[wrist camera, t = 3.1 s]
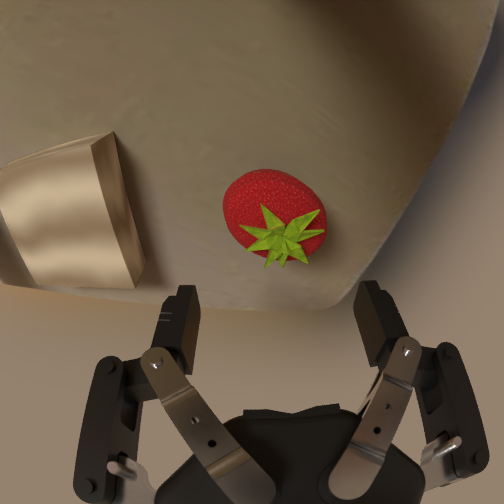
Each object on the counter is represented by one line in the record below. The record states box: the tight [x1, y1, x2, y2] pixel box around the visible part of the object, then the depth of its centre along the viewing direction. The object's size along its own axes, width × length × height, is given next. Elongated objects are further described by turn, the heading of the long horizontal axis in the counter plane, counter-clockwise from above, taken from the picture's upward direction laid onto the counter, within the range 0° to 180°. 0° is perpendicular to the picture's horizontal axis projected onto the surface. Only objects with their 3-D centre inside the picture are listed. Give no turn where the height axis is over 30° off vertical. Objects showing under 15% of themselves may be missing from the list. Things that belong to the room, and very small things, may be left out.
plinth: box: [0, 131, 146, 289], centre depth 23 cm, size 14×14×4 cm
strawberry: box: [223, 169, 327, 269], centre depth 19 cm, size 6×8×10 cm
